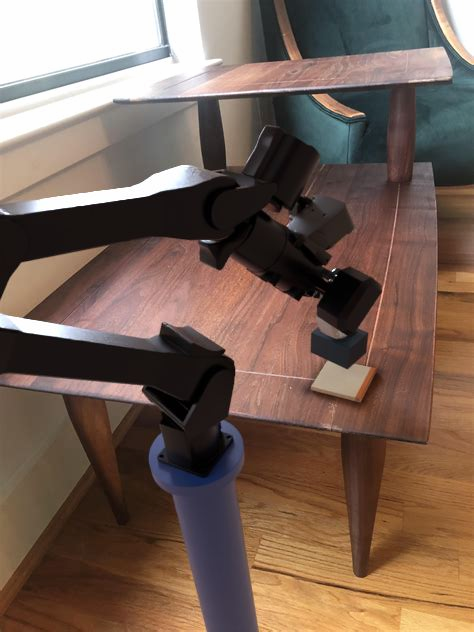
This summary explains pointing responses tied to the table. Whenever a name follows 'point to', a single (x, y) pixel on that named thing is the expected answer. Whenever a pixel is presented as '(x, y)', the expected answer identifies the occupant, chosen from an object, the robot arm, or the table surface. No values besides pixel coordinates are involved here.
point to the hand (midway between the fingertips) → (346, 304)
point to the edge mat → (344, 381)
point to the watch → (338, 344)
